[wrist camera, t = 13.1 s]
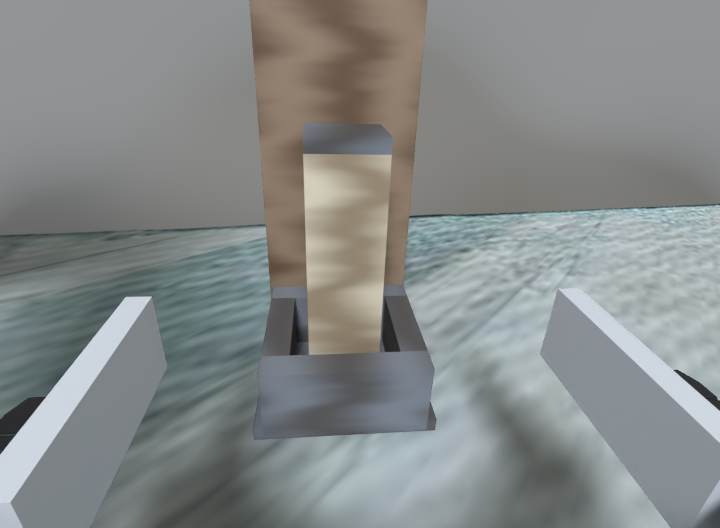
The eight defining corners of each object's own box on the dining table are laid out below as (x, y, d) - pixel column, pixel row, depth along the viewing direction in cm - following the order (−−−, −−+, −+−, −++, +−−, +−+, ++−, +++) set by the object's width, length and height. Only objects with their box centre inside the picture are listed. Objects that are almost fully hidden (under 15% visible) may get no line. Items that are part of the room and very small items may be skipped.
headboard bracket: (254, 439, 23) (161, -369, 10) (279, 286, 38) (254, -114, 26) (434, 429, 24) (546, -320, 11) (388, 284, 39) (414, -103, 26)
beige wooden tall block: (310, 393, 25) (302, 135, 18) (311, 351, 28) (304, 122, 22) (377, 390, 25) (392, 136, 19) (369, 349, 29) (380, 124, 22)
